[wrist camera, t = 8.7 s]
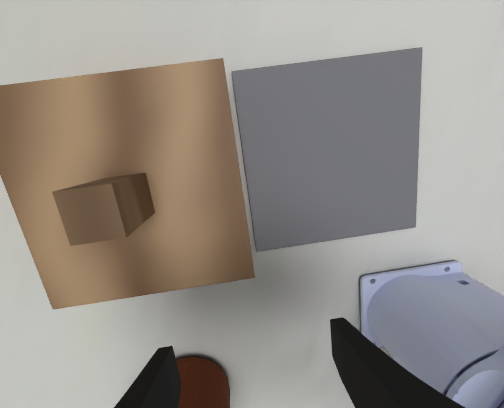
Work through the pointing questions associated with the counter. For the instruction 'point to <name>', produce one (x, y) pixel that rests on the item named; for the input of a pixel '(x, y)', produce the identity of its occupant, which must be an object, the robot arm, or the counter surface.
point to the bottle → (202, 384)
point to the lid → (126, 181)
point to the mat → (330, 146)
